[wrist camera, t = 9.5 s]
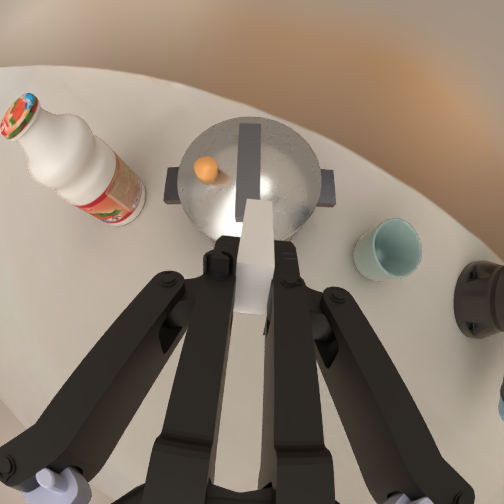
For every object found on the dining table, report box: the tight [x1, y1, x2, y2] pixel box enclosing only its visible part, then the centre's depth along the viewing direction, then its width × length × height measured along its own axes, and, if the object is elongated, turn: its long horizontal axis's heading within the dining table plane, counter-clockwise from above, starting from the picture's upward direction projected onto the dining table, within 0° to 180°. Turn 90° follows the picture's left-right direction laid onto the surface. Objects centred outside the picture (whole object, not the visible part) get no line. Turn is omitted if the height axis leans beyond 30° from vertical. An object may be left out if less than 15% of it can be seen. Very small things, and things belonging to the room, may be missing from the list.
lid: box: [177, 117, 321, 241], centre depth 29 cm, size 16×16×3 cm
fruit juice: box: [0, 93, 145, 226], centre depth 29 cm, size 9×9×28 cm
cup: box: [353, 218, 422, 281], centre depth 36 cm, size 8×8×10 cm
